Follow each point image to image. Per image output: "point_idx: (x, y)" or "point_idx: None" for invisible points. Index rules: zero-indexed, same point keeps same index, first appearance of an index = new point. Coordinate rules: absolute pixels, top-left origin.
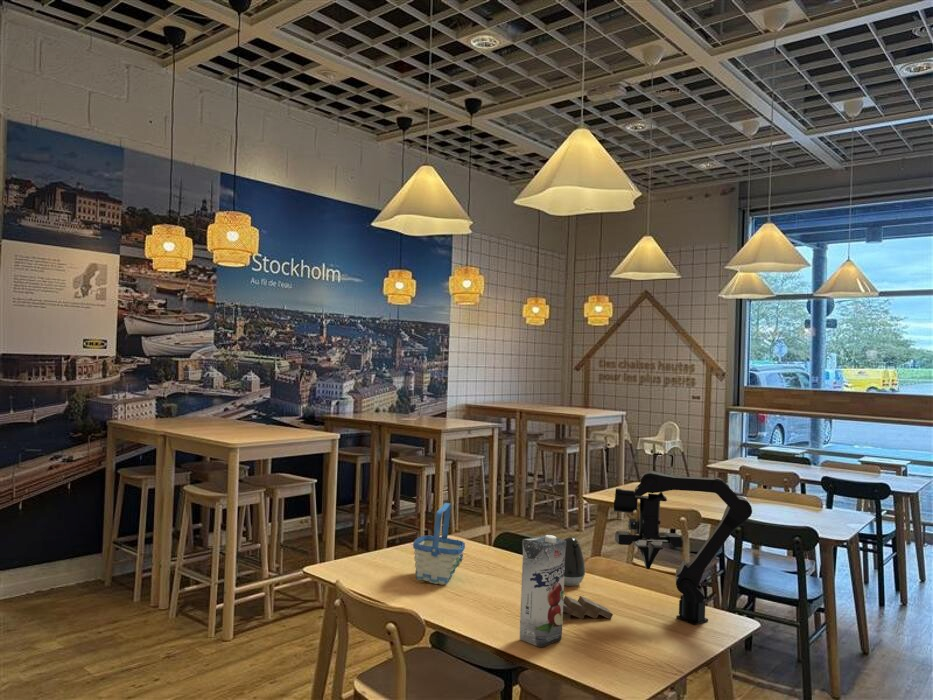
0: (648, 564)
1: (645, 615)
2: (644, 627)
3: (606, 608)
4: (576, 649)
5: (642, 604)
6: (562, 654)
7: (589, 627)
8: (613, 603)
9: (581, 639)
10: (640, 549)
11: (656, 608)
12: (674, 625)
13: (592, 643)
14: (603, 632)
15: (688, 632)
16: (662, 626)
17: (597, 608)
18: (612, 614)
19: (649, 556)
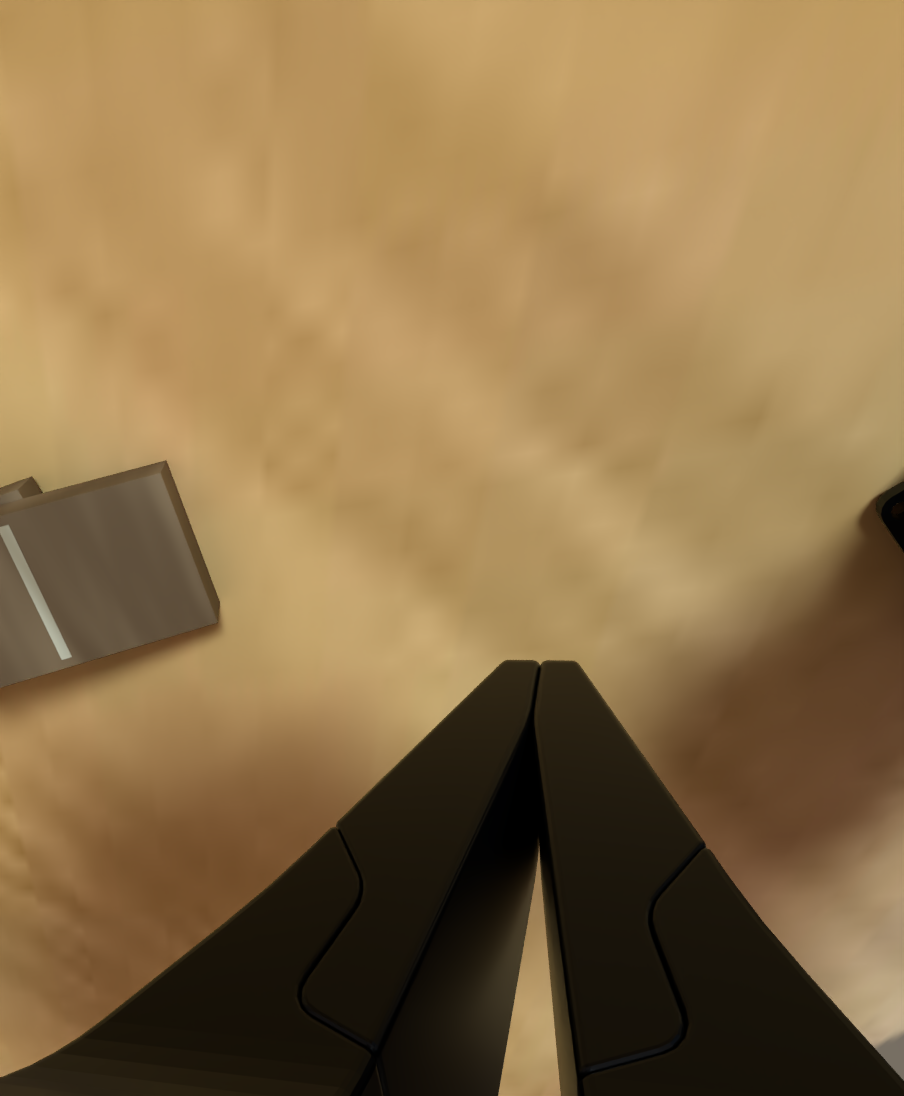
0: (531, 863)
1: (550, 460)
2: None
3: (151, 508)
4: (65, 1008)
5: (611, 41)
6: (16, 1044)
7: (84, 759)
8: (243, 99)
9: (67, 914)
10: (105, 1090)
11: (759, 182)
12: (762, 680)
13: (130, 955)
14: (179, 828)
15: (824, 808)
16: (637, 708)
17: (61, 664)
18: (213, 622)
19: (559, 1035)
